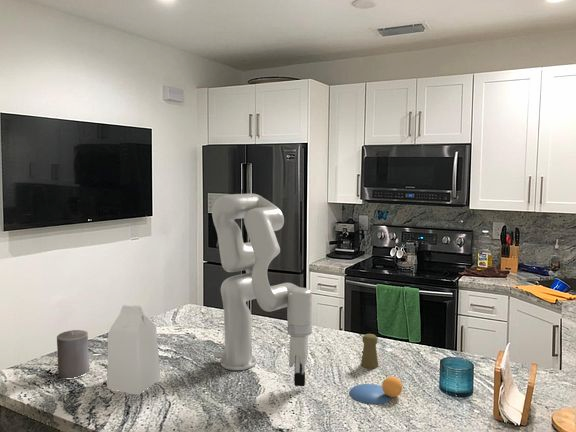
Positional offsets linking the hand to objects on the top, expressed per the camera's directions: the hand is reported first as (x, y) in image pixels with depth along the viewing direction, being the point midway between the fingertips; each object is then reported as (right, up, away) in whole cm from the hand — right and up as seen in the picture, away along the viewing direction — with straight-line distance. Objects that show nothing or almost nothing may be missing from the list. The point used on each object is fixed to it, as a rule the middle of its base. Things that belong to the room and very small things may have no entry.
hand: (299, 384), depth 154 cm
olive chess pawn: (+25, 0, +19) cm, 31 cm away
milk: (-53, -2, +4) cm, 53 cm away
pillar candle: (-76, -1, +12) cm, 77 cm away
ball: (+28, +1, -5) cm, 28 cm away
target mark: (+22, -2, -3) cm, 22 cm away
